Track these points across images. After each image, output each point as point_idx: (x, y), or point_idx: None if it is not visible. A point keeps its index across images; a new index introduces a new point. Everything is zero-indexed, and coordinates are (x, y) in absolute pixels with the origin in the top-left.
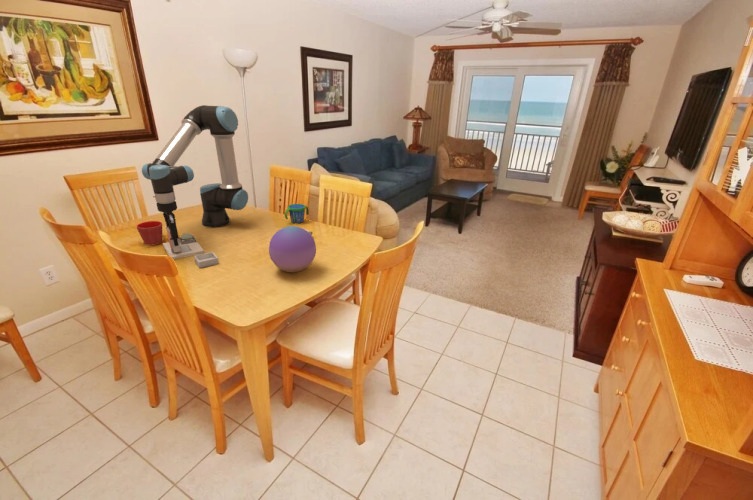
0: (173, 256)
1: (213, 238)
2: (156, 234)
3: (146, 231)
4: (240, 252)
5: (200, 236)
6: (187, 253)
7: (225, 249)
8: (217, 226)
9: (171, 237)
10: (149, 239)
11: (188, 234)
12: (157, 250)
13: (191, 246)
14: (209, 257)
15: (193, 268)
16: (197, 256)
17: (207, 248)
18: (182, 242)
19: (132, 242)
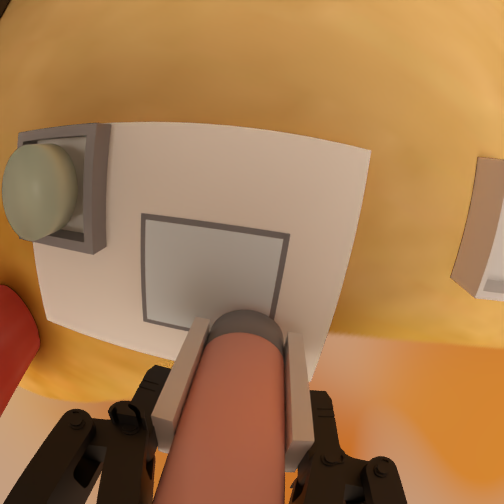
0: (308, 369)
1: (106, 8)
2: (3, 352)
3: (5, 401)
4: (478, 14)
5: (28, 84)
6: (331, 284)
7: (393, 14)
8: (4, 5)
9: (293, 488)
10: (26, 365)
11: (21, 173)
12: (110, 360)
13: (189, 195)
14: (486, 189)
15: (492, 310)
16: (482, 274)
17: (281, 85)
18: (95, 243)
19: None
